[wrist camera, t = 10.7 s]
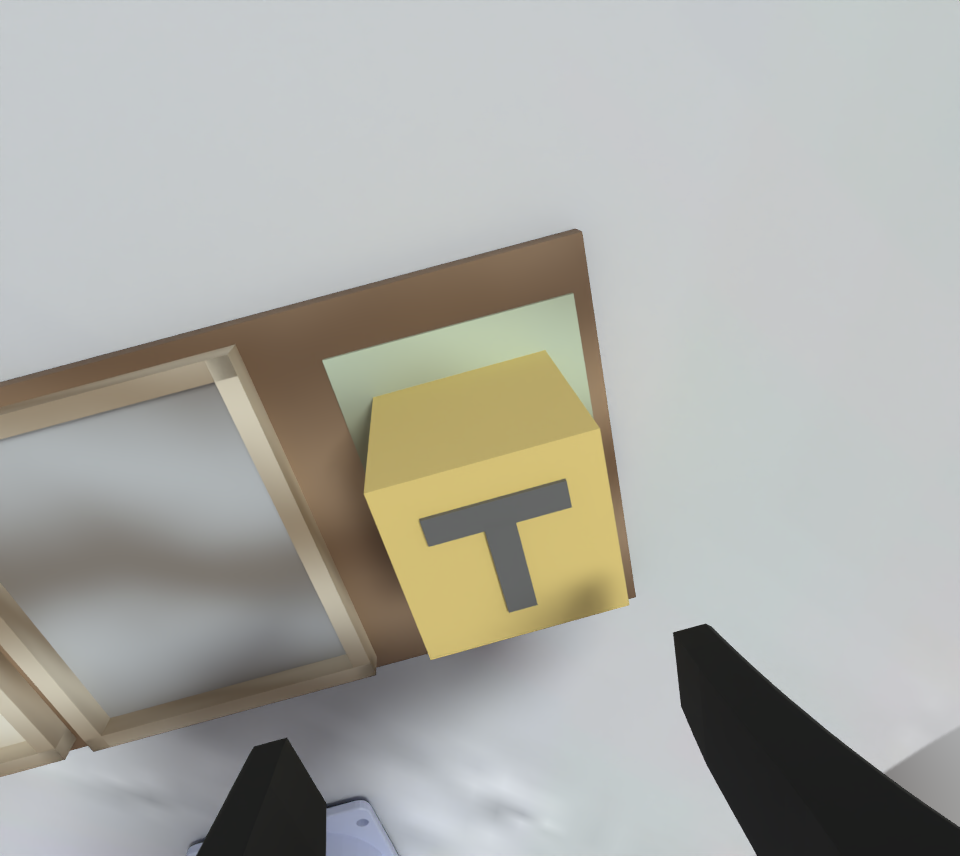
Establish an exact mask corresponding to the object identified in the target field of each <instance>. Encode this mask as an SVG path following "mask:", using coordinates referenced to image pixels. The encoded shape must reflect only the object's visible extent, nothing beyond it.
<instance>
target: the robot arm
mask: <svg viewBox="0 0 960 856" xmlns="http://www.w3.org/2000/svg"><path fill="white" fill-rule="evenodd" d="M673 636H674V645H675V654H676V663H677V672H678V682H679V691H680V700H681V707H682V709H683V712H684V714H685V716H686V719H687V721H688V723H689V726H690V728H691V730H692V733H693V735H694V737H695V740H696V742H697V744H698V746H699V749H700V751H701V753H702V755H703V758H704V760H705V762H706V764H707V766H708V768H709V770H710V772H711V773H712V775H713V777H714V779H715V781H716V783H717V784H718V786H719V788H720V790H721V792H722V793H723V795H724V797H725V799H726V801H727V802H728V804H729V806H730V808H731V810H732V811H733V813H734V815H735V817H736V819H737V820H738V822H739V824H740V826H741V828H742V829H743V831H744V833H745V835H746V837H747V838H748V840H749V842H750V844H751V845H752V847H753V849H754V851H755V853H756V854H757V856H960V827H958V826H957V825H956V824H954V823H953V822H951V821H950V820H948V819H947V818H945V817H944V816H942V815H941V814H940V813H938V812H937V811H935V810H934V809H932V808H931V807H929V806H928V805H926V804H925V803H923V802H922V801H921V800H919V799H918V798H916V797H915V796H914V795H912V794H911V793H909V792H908V791H907V790H905V789H904V788H902V787H901V786H900V785H898V784H897V783H896V782H894V781H893V780H892V779H890V778H889V777H887V776H886V775H885V774H883V773H882V772H881V771H879V770H878V769H877V768H875V767H874V766H873V765H871V764H870V763H869V762H868V761H866V760H865V759H864V758H862V757H861V756H860V755H858V754H857V753H856V752H854V751H853V750H852V749H851V748H849V747H848V746H847V745H845V744H844V743H843V742H842V741H840V740H839V739H838V738H837V737H835V736H834V735H833V734H832V733H830V732H829V731H828V730H827V729H825V728H824V727H823V726H822V725H820V724H819V723H818V722H817V721H816V720H814V719H813V718H812V717H811V716H810V715H808V714H807V713H806V712H805V711H804V710H802V709H801V708H800V707H799V706H798V705H796V704H795V703H794V702H793V701H792V700H790V699H789V698H788V697H787V696H786V695H785V694H783V693H782V692H781V691H780V690H779V689H778V688H777V687H775V686H774V685H773V684H772V683H771V682H770V681H769V680H768V679H766V678H765V677H764V676H763V675H762V674H761V673H760V672H759V671H758V670H756V669H755V668H754V667H753V666H752V665H751V664H750V663H749V662H748V661H747V660H746V659H744V658H743V657H742V656H741V655H740V654H739V653H738V652H737V651H736V650H735V649H734V648H733V647H732V646H731V645H730V644H729V643H728V642H727V641H726V640H724V639H723V638H722V637H721V636H720V635H719V634H718V633H717V632H716V631H715V630H714V629H713V628H712V627H711V626H709V625H707V624H703V625H699V626H695V627H692V628H688V629H684V630H681V631H677V632H673ZM186 856H399V855H398V854H397V852H396V850H395V848H394V846H393V845H392V843H391V841H390V839H389V837H388V836H387V834H386V832H385V830H384V828H383V827H382V825H381V823H380V821H379V819H378V817H377V816H376V814H375V812H374V810H373V808H372V807H371V805H370V804H369V803H368V802H367V801H364V800H357V801H353V802H349V803H345V804H342V805H338V806H334V807H331V808H327V809H326V802H325V800H324V799H323V797H322V795H321V794H320V792H319V790H318V789H317V787H316V785H315V784H314V782H313V780H312V779H311V777H310V775H309V774H308V772H307V770H306V769H305V767H304V765H303V764H302V762H301V760H300V759H299V757H298V755H297V754H296V752H295V750H294V749H293V747H292V745H291V744H290V742H289V740H288V739H287V738H284V739H280V740H277V741H273V742H269V743H266V744H262V745H258V746H255V747H254V748H253V749H252V751H251V753H250V754H249V756H248V758H247V760H246V762H245V764H244V766H243V768H242V770H241V771H240V773H239V775H238V777H237V779H236V781H235V783H234V785H233V787H232V789H231V791H230V793H229V794H228V796H227V798H226V800H225V802H224V804H223V806H222V808H221V810H220V812H219V814H218V816H217V817H216V819H215V821H214V823H213V825H212V827H211V829H210V831H209V833H208V834H207V836H206V838H205V840H204V842H202V843H199V844H195V845H193V846H191V847H190V848H189V849H188V852H187V855H186Z"/></svg>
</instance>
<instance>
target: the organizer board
mask: <svg viewBox="0 0 960 856" xmlns="http://www.w3.org/2000/svg"><path fill="white" fill-rule="evenodd" d="M543 350H546V352H547V353H548V355H549V356H550V357H551V359H552V360H553V362H554V363H555V365H556V366H557V367H558V369H559V370H560V372H561V373H562V375H563V376H564V377H565V379H566V380H567V382H568V383H569V385H570V386H571V388H572V389H573V390H574V392H575V393H576V395H577V396H578V398H579V399H580V400H581V402H582V403H583V405H584V406H585V408H586V409H587V410H588V412H589V413H590V415H591V416H592V418H593V419H594V420H595V422H596V423H597V425H598V426H599V428H600V431H601V437H602V443H603V449H604V455H605V462H606V468H607V474H608V480H609V486H610V492H611V498H612V504H613V510H614V516H615V522H616V528H617V534H618V540H619V546H620V552H621V558H622V564H623V570H624V576H625V582H626V588H627V594H628V599H630V598H634V597H636V595H635V588H634V582H633V575H632V568H631V561H630V554H629V548H628V541H627V534H626V527H625V520H624V514H623V507H622V500H621V493H620V486H619V480H618V473H617V466H616V459H615V452H614V446H613V439H612V432H611V425H610V418H609V412H608V405H607V398H606V391H605V384H604V378H603V371H602V364H601V357H600V350H599V344H598V337H597V330H596V323H595V316H594V310H593V303H592V296H591V289H590V282H589V276H588V269H587V262H586V255H585V248H584V241H583V235H582V231H580V230H578V229H573V230H569V231H565V232H561V233H558V234H554V235H550V236H546V237H543V238H539V239H535V240H531V241H528V242H524V243H520V244H516V245H513V246H509V247H505V248H501V249H498V250H494V251H490V252H486V253H483V254H479V255H475V256H471V257H468V258H464V259H460V260H456V261H453V262H449V263H445V264H441V265H438V266H434V267H430V268H426V269H423V270H419V271H415V272H412V273H408V274H404V275H400V276H397V277H393V278H389V279H385V280H382V281H378V282H374V283H370V284H367V285H363V286H359V287H355V288H352V289H348V290H344V291H340V292H337V293H333V294H329V295H325V296H322V297H318V298H314V299H310V300H307V301H303V302H299V303H295V304H292V305H288V306H284V307H280V308H277V309H273V310H269V311H265V312H262V313H258V314H254V315H250V316H247V317H243V318H239V319H235V320H232V321H228V322H224V323H220V324H217V325H213V326H209V327H205V328H202V329H198V330H194V331H191V332H187V333H183V334H179V335H176V336H172V337H168V338H164V339H161V340H157V341H153V342H149V343H146V344H142V345H138V346H134V347H131V348H127V349H123V350H119V351H116V352H112V353H108V354H104V355H101V356H97V357H93V358H89V359H86V360H82V361H78V362H74V363H71V364H67V365H63V366H59V367H56V368H52V369H48V370H44V371H41V372H37V373H33V374H29V375H26V376H22V377H18V378H14V379H11V380H7V381H3V382H0V777H2V776H6V775H10V774H13V773H17V772H21V771H25V770H28V769H32V768H36V767H39V766H43V765H47V764H50V763H54V762H58V761H61V760H65V759H66V757H67V755H68V753H69V751H71V750H74V749H78V748H82V747H85V746H89V747H90V748H91V750H92V751H93V752H94V751H98V750H102V749H106V748H109V747H113V746H117V745H120V744H124V743H128V742H131V741H135V740H139V739H142V738H146V737H150V736H153V735H157V734H161V733H164V732H168V731H172V730H175V729H179V728H183V727H187V726H190V725H194V724H198V723H201V722H205V721H209V720H212V719H216V718H220V717H223V716H227V715H231V714H234V713H238V712H242V711H245V710H249V709H253V708H256V707H260V706H264V705H268V704H271V703H275V702H279V701H282V700H286V699H290V698H293V697H297V696H301V695H304V694H308V693H312V692H315V691H319V690H323V689H326V688H330V687H334V686H337V685H341V684H345V683H349V682H352V681H356V680H360V679H363V678H367V677H371V676H374V675H376V667H380V666H384V665H387V664H391V663H395V662H398V661H402V660H406V659H409V658H413V657H417V656H421V655H424V654H428V652H427V649H426V647H425V644H424V642H423V639H422V637H421V635H420V632H419V630H418V627H417V625H416V622H415V620H414V617H413V615H412V612H411V610H410V607H409V605H408V602H407V600H406V597H405V595H404V592H403V590H402V587H401V585H400V583H399V580H398V578H397V575H396V573H395V570H394V568H393V565H392V563H391V560H390V558H389V555H388V553H387V550H386V548H385V545H384V543H383V540H382V538H381V536H380V533H379V531H378V528H377V526H376V523H375V521H374V518H373V516H372V513H371V511H370V508H369V506H368V503H367V501H366V498H365V496H364V485H365V474H366V464H367V454H368V444H369V433H370V423H371V413H372V403H373V397H377V396H380V395H384V394H387V393H391V392H395V391H398V390H402V389H405V388H409V387H413V386H416V385H420V384H424V383H427V382H431V381H434V380H438V379H442V378H445V377H449V376H453V375H456V374H460V373H463V372H467V371H471V370H474V369H478V368H482V367H485V366H489V365H492V364H496V363H500V362H503V361H507V360H511V359H514V358H518V357H521V356H525V355H529V354H532V353H536V352H540V351H543Z"/></svg>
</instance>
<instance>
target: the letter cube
mask: <svg viewBox="0 0 960 856" xmlns="http://www.w3.org/2000/svg"><path fill="white" fill-rule="evenodd" d="M364 496H365V498H366V501H367V503H368V506H369V508H370V511H371V513H372V516H373V518H374V521H375V523H376V526H377V528H378V531H379V533H380V536H381V538H382V540H383V543H384V545H385V548H386V550H387V553H388V555H389V558H390V560H391V563H392V565H393V568H394V570H395V573H396V575H397V578H398V580H399V583H400V585H401V587H402V590H403V592H404V595H405V597H406V600H407V602H408V605H409V607H410V610H411V612H412V615H413V617H414V620H415V622H416V625H417V627H418V630H419V632H420V635H421V637H422V639H423V642H424V644H425V647H426V649H427V652H428V654H429V657H430V659H431V660H433V659H437V658H440V657H444V656H447V655H451V654H455V653H458V652H462V651H465V650H469V649H473V648H476V647H480V646H483V645H487V644H491V643H494V642H498V641H501V640H505V639H509V638H512V637H516V636H519V635H523V634H527V633H530V632H534V631H537V630H541V629H545V628H548V627H552V626H555V625H559V624H563V623H566V622H570V621H573V620H577V619H581V618H584V617H588V616H591V615H595V614H599V613H602V612H606V611H609V610H613V609H617V608H620V607H624V606H627V605H629V600H628V594H627V588H626V582H625V576H624V570H623V564H622V558H621V552H620V546H619V540H618V534H617V528H616V522H615V516H614V510H613V504H612V498H611V492H610V486H609V480H608V474H607V468H606V462H605V455H604V449H603V443H602V437H601V431H600V428H599V426H598V425H597V423H596V422H595V420H594V419H593V418H592V416H591V415H590V413H589V412H588V410H587V409H586V408H585V406H584V405H583V403H582V402H581V400H580V399H579V398H578V396H577V395H576V393H575V392H574V390H573V389H572V388H571V386H570V385H569V383H568V382H567V380H566V379H565V377H564V376H563V375H562V373H561V372H560V370H559V369H558V367H557V366H556V365H555V363H554V362H553V360H552V359H551V357H550V356H549V355H548V353H547V352H546V350H543V351H540V352H536V353H532V354H529V355H525V356H521V357H518V358H514V359H511V360H507V361H503V362H500V363H496V364H492V365H489V366H485V367H482V368H478V369H474V370H471V371H467V372H463V373H460V374H456V375H453V376H449V377H445V378H442V379H438V380H434V381H431V382H427V383H424V384H420V385H416V386H413V387H409V388H405V389H402V390H398V391H395V392H391V393H387V394H384V395H380V396H377V397H373V403H372V413H371V423H370V433H369V444H368V454H367V464H366V474H365V485H364Z"/></svg>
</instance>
